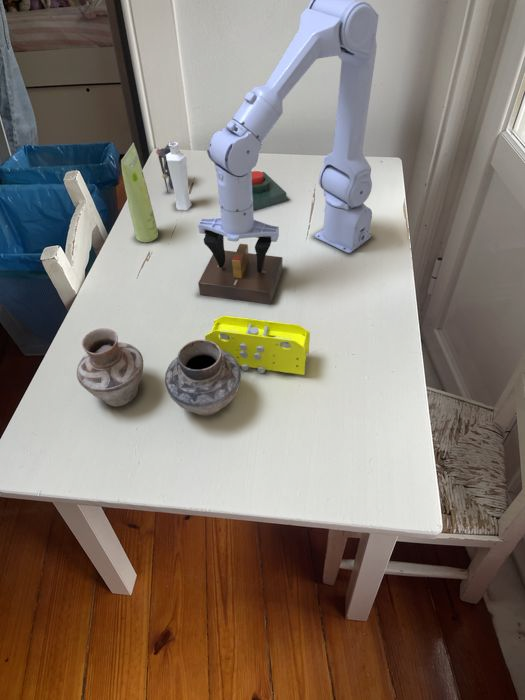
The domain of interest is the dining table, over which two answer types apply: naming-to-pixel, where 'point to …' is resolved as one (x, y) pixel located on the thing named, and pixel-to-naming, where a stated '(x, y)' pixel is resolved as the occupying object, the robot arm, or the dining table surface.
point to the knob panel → (242, 279)
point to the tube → (138, 197)
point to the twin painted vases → (181, 376)
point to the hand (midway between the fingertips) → (241, 266)
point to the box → (267, 193)
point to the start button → (257, 177)
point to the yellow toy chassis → (262, 343)
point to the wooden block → (240, 261)
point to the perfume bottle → (179, 176)
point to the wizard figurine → (165, 164)
